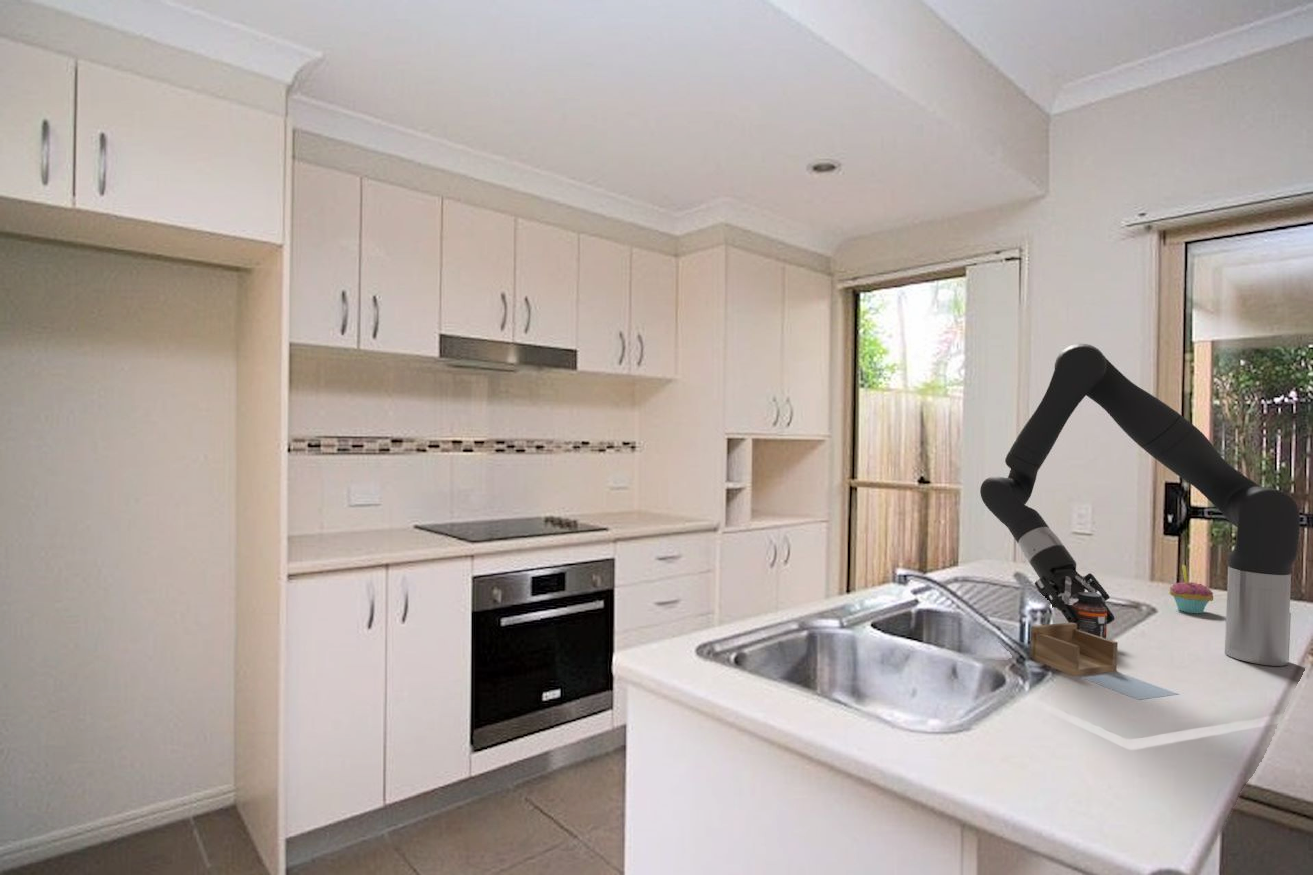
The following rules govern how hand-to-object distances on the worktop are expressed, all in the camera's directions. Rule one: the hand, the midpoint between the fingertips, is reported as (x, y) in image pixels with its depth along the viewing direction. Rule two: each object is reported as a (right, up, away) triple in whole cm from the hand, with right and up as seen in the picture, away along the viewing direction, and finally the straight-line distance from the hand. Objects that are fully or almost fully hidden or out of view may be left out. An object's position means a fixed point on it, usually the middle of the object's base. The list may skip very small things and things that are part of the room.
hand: (1094, 623), depth 135 cm
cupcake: (+46, -7, +35) cm, 58 cm away
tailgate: (-9, -5, -15) cm, 18 cm away
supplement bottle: (-1, -6, +1) cm, 6 cm away
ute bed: (-10, -6, -10) cm, 16 cm away
